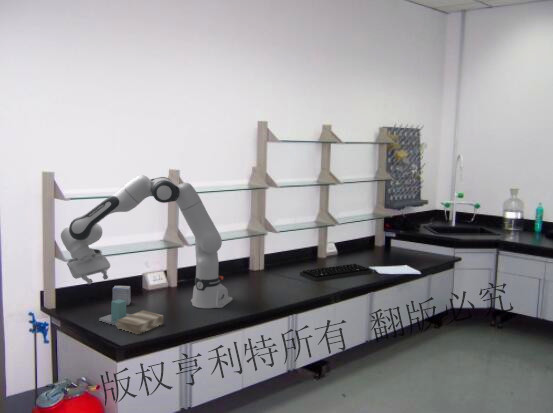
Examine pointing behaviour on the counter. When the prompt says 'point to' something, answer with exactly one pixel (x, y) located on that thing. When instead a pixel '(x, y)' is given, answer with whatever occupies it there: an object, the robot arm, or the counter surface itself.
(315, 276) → the computer keyboard
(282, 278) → the counter surface
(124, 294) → the medicine box
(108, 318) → the post stand
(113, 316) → the teal square-faced block
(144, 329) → the riser block
